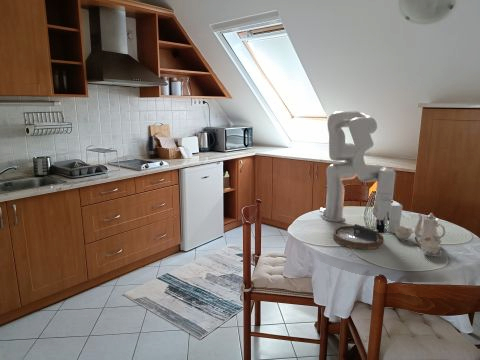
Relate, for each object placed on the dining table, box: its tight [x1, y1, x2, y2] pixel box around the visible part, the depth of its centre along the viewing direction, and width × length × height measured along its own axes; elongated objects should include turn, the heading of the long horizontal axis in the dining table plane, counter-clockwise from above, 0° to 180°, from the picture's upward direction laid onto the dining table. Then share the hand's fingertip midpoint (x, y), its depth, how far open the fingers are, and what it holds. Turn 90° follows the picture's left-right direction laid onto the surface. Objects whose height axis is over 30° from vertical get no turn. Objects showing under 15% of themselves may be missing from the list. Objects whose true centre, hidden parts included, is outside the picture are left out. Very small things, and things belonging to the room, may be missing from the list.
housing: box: [332, 225, 385, 251], centre depth 172 cm, size 23×23×3 cm
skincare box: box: [386, 200, 403, 233], centre depth 185 cm, size 8×6×15 cm
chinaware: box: [394, 212, 446, 257], centre depth 165 cm, size 28×17×17 cm, turn 19°
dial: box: [337, 223, 380, 243], centre depth 172 cm, size 20×20×7 cm
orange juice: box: [368, 181, 377, 197], centre depth 206 cm, size 8×9×20 cm
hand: (379, 232), depth 171 cm, fingers closed
